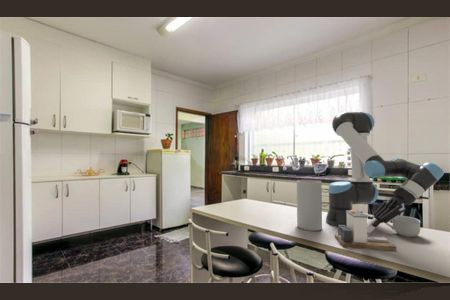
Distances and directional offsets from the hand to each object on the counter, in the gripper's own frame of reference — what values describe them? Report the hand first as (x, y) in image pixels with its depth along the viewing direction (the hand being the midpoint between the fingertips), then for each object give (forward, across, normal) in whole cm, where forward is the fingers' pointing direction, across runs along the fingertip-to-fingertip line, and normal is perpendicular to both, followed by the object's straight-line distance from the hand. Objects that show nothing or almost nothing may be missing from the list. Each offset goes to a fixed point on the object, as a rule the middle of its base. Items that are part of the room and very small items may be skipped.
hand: (366, 230), depth 98 cm
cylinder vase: (+18, +20, +10) cm, 29 cm away
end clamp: (+9, +1, +3) cm, 10 cm away
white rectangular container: (+6, +1, 0) cm, 6 cm away
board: (+5, +1, -3) cm, 6 cm away
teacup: (-12, +16, -21) cm, 29 cm away
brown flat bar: (+4, +1, -2) cm, 5 cm away
